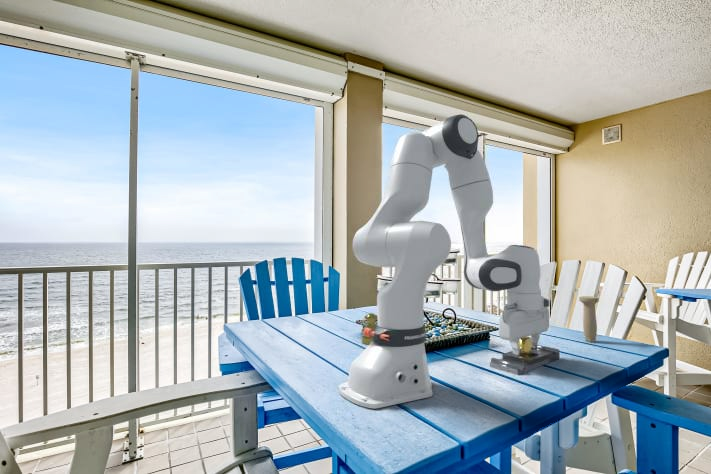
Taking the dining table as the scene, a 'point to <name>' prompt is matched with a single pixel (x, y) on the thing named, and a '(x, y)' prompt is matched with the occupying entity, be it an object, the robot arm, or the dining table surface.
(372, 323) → the olive green upright figure
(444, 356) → the dining table surface
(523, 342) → the brass pin
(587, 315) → the handle
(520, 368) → the gray stepped fixture plate
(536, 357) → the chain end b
